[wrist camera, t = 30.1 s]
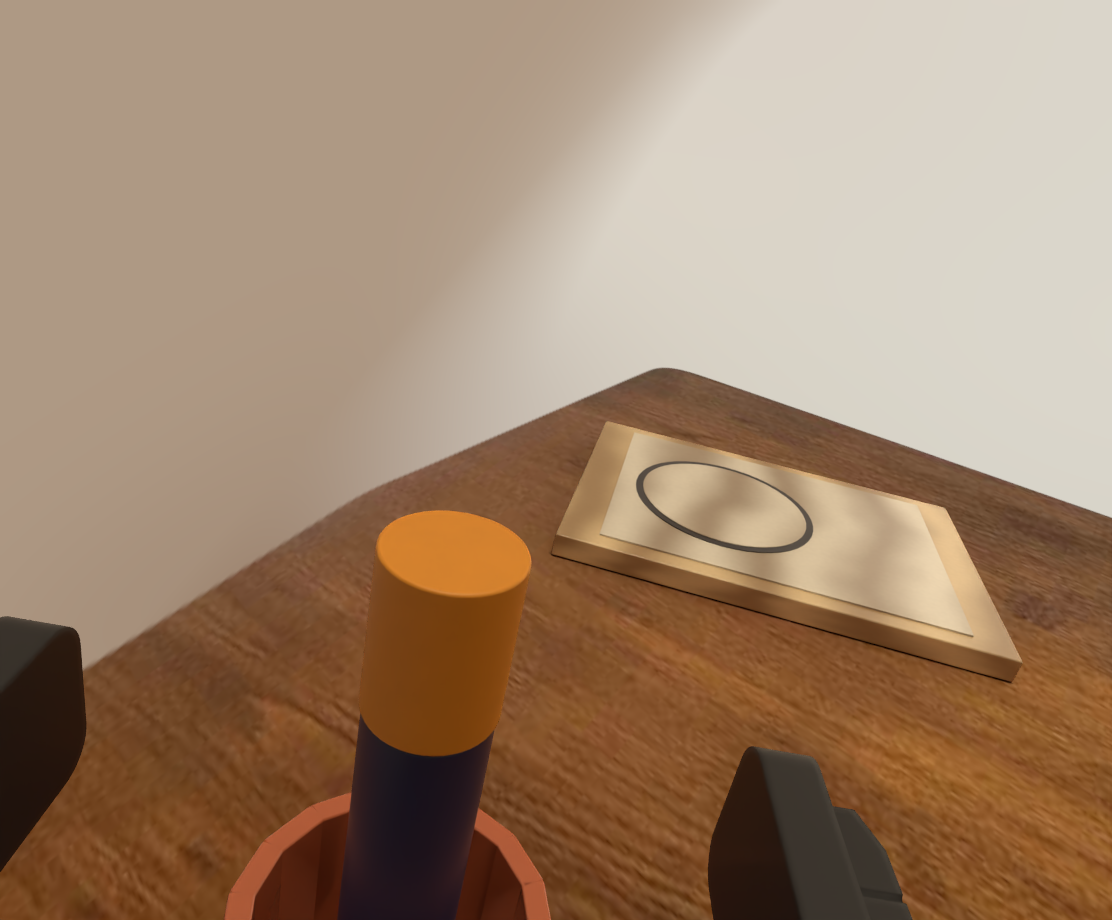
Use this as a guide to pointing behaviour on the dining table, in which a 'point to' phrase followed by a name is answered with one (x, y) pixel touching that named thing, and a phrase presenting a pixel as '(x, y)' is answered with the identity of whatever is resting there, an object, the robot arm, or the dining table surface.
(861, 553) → the drawing board
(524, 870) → the pen pot
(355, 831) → the marker
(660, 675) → the dining table surface
